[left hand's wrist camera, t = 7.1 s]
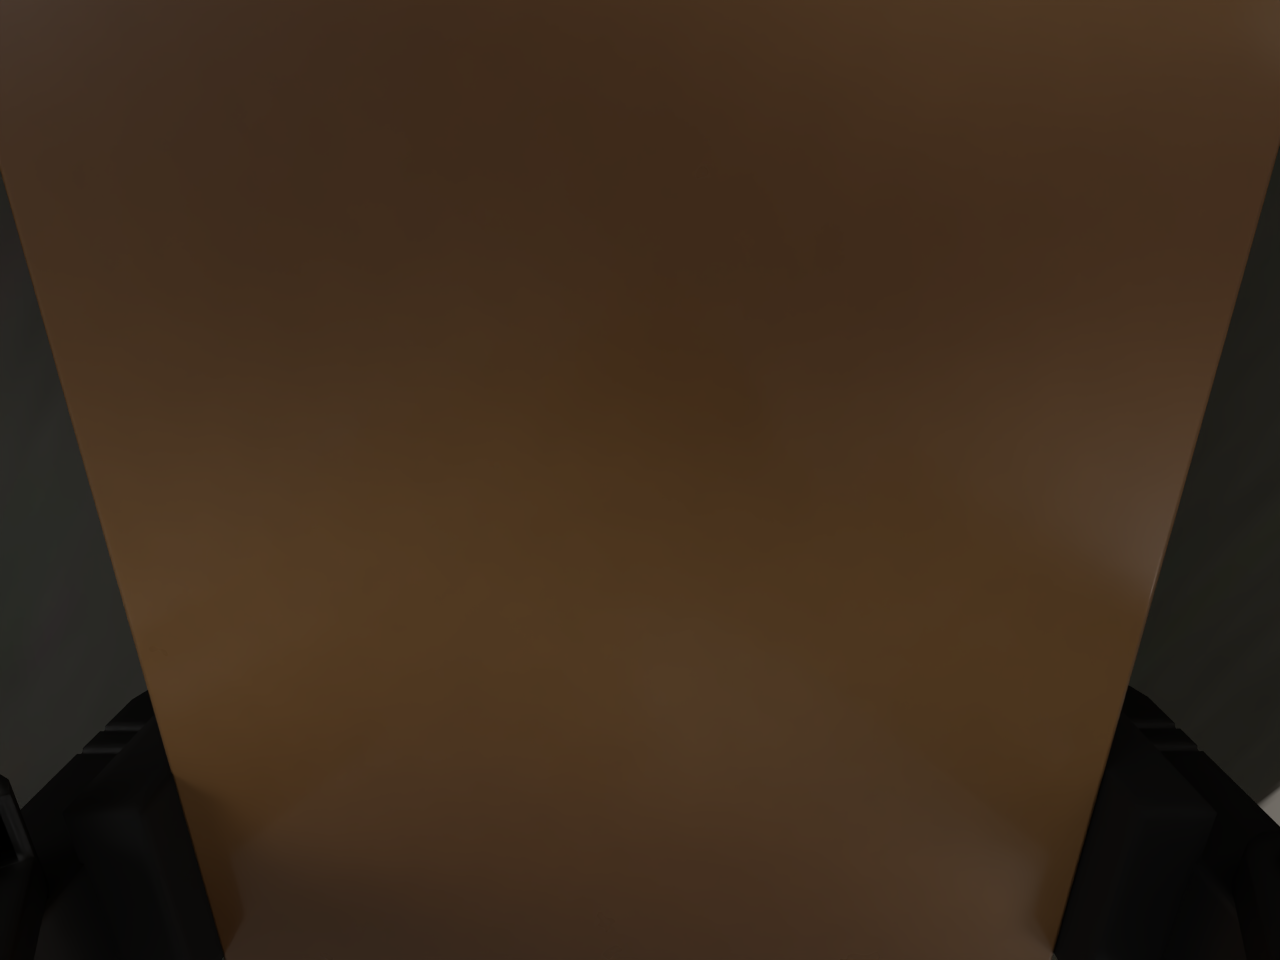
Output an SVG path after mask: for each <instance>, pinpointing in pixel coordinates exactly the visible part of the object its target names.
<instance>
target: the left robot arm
mask: <svg viewBox="0 0 1280 960" xmlns="http://www.w3.org/2000/svg"><path fill="white" fill-rule="evenodd" d="M1054 953H1055V955H1056V957H1057V959H1058V960H1280V826H1279V825H1278V824H1276V822H1275V821H1274V820H1273V819H1272V818H1270V817H1269V816H1268V815H1267V814H1266V813H1265V812H1264V811H1263V810H1262V809H1261V808H1260V807H1259V806H1258V805H1257V804H1256V803H1255V802H1254V801H1253V800H1252V799H1251V798H1250V797H1249V796H1248V795H1247V794H1246V793H1245V792H1244V791H1243V790H1242V789H1241V788H1240V787H1239V786H1238V785H1237V784H1236V783H1235V782H1234V781H1233V780H1232V779H1231V778H1230V777H1229V776H1228V775H1227V774H1226V773H1225V772H1224V771H1223V770H1222V769H1221V768H1220V767H1219V766H1218V765H1217V764H1216V763H1215V762H1214V761H1212V760H1211V759H1210V758H1209V757H1208V756H1207V755H1206V754H1205V753H1204V752H1203V751H1198V749H1197V745H1196V744H1195V743H1194V742H1193V741H1192V740H1191V739H1190V738H1189V737H1188V736H1187V735H1186V734H1185V733H1184V732H1183V731H1182V730H1181V729H1176V728H1175V723H1174V722H1173V721H1172V720H1171V719H1170V718H1169V717H1168V716H1167V715H1166V714H1165V713H1164V712H1163V711H1162V710H1161V709H1160V708H1159V707H1158V706H1157V705H1156V704H1154V703H1153V702H1152V701H1151V700H1150V699H1149V698H1148V697H1147V696H1145V695H1144V694H1142V693H1140V692H1139V691H1137V690H1135V689H1134V688H1132V687H1131V686H1129V685H1128V688H1127V692H1126V695H1125V699H1124V702H1123V706H1122V710H1121V713H1120V717H1119V720H1118V724H1117V727H1116V731H1115V735H1114V738H1113V742H1112V745H1111V749H1110V752H1109V756H1108V760H1107V763H1106V767H1105V770H1104V774H1103V777H1102V781H1101V785H1100V788H1099V792H1098V795H1097V799H1096V802H1095V806H1094V810H1093V813H1092V817H1091V820H1090V824H1089V827H1088V831H1087V835H1086V838H1085V842H1084V845H1083V849H1082V852H1081V856H1080V860H1079V863H1078V867H1077V870H1076V874H1075V877H1074V881H1073V885H1072V888H1071V892H1070V895H1069V899H1068V902H1067V906H1066V910H1065V913H1064V917H1063V920H1062V924H1061V927H1060V931H1059V935H1058V938H1057V942H1056V945H1055V949H1054ZM223 956H224V954H223V951H222V947H221V944H220V940H219V937H218V933H217V930H216V926H215V923H214V919H213V916H212V912H211V908H210V905H209V901H208V898H207V894H206V891H205V887H204V884H203V880H202V877H201V873H200V870H199V866H198V863H197V859H196V856H195V852H194V848H193V845H192V841H191V838H190V834H189V831H188V827H187V824H186V820H185V817H184V813H183V810H182V806H181V803H180V799H179V796H178V792H177V788H176V785H175V781H174V778H173V774H172V772H171V769H170V766H169V762H168V759H167V755H166V752H165V748H164V745H163V741H162V738H161V734H160V731H159V727H158V724H157V720H156V716H155V713H154V709H153V706H152V702H151V699H150V695H149V692H148V690H147V691H145V692H144V693H142V694H141V695H139V696H137V697H136V698H134V699H132V700H131V701H130V702H129V703H128V704H127V705H126V706H125V707H124V708H123V709H122V710H121V711H120V712H119V713H118V714H117V715H116V716H115V717H114V718H113V719H112V720H111V721H110V722H109V723H108V724H107V725H106V726H105V731H100V732H99V733H98V734H97V735H96V736H95V737H94V738H93V739H92V740H91V741H90V742H89V743H88V744H87V745H86V746H85V747H84V748H83V752H82V754H77V755H76V756H75V757H74V758H73V759H72V760H71V761H70V762H69V763H68V764H67V765H65V766H64V767H63V768H62V769H61V770H60V771H59V772H58V773H57V774H56V775H55V776H54V777H53V778H52V779H51V780H50V781H49V782H48V783H47V784H46V785H45V786H44V787H43V788H42V789H41V790H40V791H39V792H38V793H37V794H36V795H35V796H34V797H33V798H32V799H31V800H30V801H29V802H28V803H27V804H26V805H25V806H24V807H23V808H22V809H21V810H20V808H19V806H18V803H17V800H16V798H15V795H14V792H13V790H12V787H11V785H10V782H9V780H8V779H7V778H5V777H4V776H2V775H0V960H222V958H223Z"/></svg>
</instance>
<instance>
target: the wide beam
mask: <svg viewBox="0 0 1280 960" xmlns="http://www.w3.org/2000/svg"><path fill="white" fill-rule="evenodd" d="M1279 145H1280V0H0V171H1V174H2V178H3V181H4V185H5V188H6V192H7V195H8V199H9V203H10V206H11V210H12V213H13V217H14V220H15V224H16V227H17V231H18V234H19V238H20V241H21V245H22V248H23V252H24V255H25V259H26V262H27V266H28V269H29V273H30V276H31V280H32V283H33V287H34V291H35V294H36V298H37V301H38V305H39V308H40V312H41V315H42V319H43V322H44V326H45V329H46V333H47V336H48V340H49V343H50V347H51V350H52V354H53V357H54V361H55V364H56V368H57V371H58V375H59V379H60V382H61V386H62V389H63V393H64V396H65V400H66V403H67V407H68V410H69V414H70V417H71V421H72V424H73V428H74V431H75V435H76V438H77V442H78V445H79V449H80V452H81V456H82V460H83V463H84V467H85V470H86V474H87V477H88V481H89V484H90V488H91V491H92V495H93V498H94V502H95V505H96V509H97V512H98V516H99V519H100V523H101V526H102V530H103V533H104V537H105V540H106V544H107V548H108V551H109V555H110V558H111V562H112V565H113V569H114V572H115V576H116V579H117V583H118V586H119V590H120V593H121V597H122V600H123V604H124V607H125V611H126V614H127V618H128V621H129V625H130V628H131V632H132V636H133V639H134V643H135V646H136V650H137V653H138V657H139V660H140V664H141V667H142V671H143V674H144V678H145V681H146V685H147V688H148V692H149V695H150V699H151V702H152V706H153V709H154V713H155V716H156V720H157V724H158V727H159V731H160V734H161V738H162V741H163V745H164V748H165V752H166V755H167V759H168V762H169V766H170V769H171V772H172V774H173V778H174V781H175V785H176V788H177V792H178V796H179V799H180V803H181V806H182V810H183V813H184V817H185V820H186V824H187V827H188V831H189V834H190V838H191V841H192V845H193V848H194V852H195V856H196V859H197V863H198V866H199V870H200V873H201V877H202V880H203V884H204V887H205V891H206V894H207V898H208V901H209V905H210V908H211V912H212V916H213V919H214V923H215V926H216V930H217V933H218V937H219V940H220V944H221V947H222V951H223V954H224V959H225V960H1052V956H1053V952H1054V949H1055V945H1056V942H1057V938H1058V935H1059V931H1060V927H1061V924H1062V920H1063V917H1064V913H1065V910H1066V906H1067V902H1068V899H1069V895H1070V892H1071V888H1072V885H1073V881H1074V877H1075V874H1076V870H1077V867H1078V863H1079V860H1080V856H1081V852H1082V849H1083V845H1084V842H1085V838H1086V835H1087V831H1088V827H1089V824H1090V820H1091V817H1092V813H1093V810H1094V806H1095V802H1096V799H1097V795H1098V792H1099V788H1100V785H1101V781H1102V777H1103V774H1104V770H1105V767H1106V763H1107V760H1108V756H1109V752H1110V749H1111V745H1112V742H1113V738H1114V735H1115V731H1116V727H1117V724H1118V720H1119V717H1120V713H1121V710H1122V706H1123V702H1124V699H1125V695H1126V692H1127V688H1128V685H1129V681H1130V677H1131V674H1132V670H1133V667H1134V663H1135V660H1136V656H1137V652H1138V649H1139V645H1140V642H1141V638H1142V635H1143V631H1144V627H1145V624H1146V620H1147V617H1148V613H1149V610H1150V606H1151V602H1152V599H1153V595H1154V592H1155V588H1156V585H1157V581H1158V577H1159V574H1160V570H1161V567H1162V563H1163V560H1164V556H1165V552H1166V549H1167V545H1168V542H1169V538H1170V535H1171V531H1172V527H1173V524H1174V520H1175V517H1176V513H1177V510H1178V506H1179V502H1180V499H1181V495H1182V492H1183V488H1184V485H1185V481H1186V478H1187V474H1188V470H1189V467H1190V463H1191V460H1192V456H1193V453H1194V449H1195V445H1196V442H1197V438H1198V435H1199V431H1200V428H1201V424H1202V420H1203V417H1204V413H1205V410H1206V406H1207V403H1208V399H1209V395H1210V392H1211V388H1212V385H1213V381H1214V378H1215V374H1216V370H1217V367H1218V363H1219V360H1220V356H1221V353H1222V349H1223V345H1224V342H1225V338H1226V335H1227V331H1228V328H1229V324H1230V320H1231V317H1232V313H1233V310H1234V306H1235V303H1236V299H1237V295H1238V292H1239V288H1240V285H1241V281H1242V278H1243V274H1244V270H1245V267H1246V263H1247V260H1248V256H1249V253H1250V249H1251V245H1252V242H1253V238H1254V235H1255V231H1256V228H1257V224H1258V220H1259V217H1260V213H1261V210H1262V206H1263V203H1264V199H1265V195H1266V192H1267V188H1268V185H1269V181H1270V178H1271V174H1272V170H1273V167H1274V163H1275V160H1276V156H1277V153H1278V149H1279Z"/></svg>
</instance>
